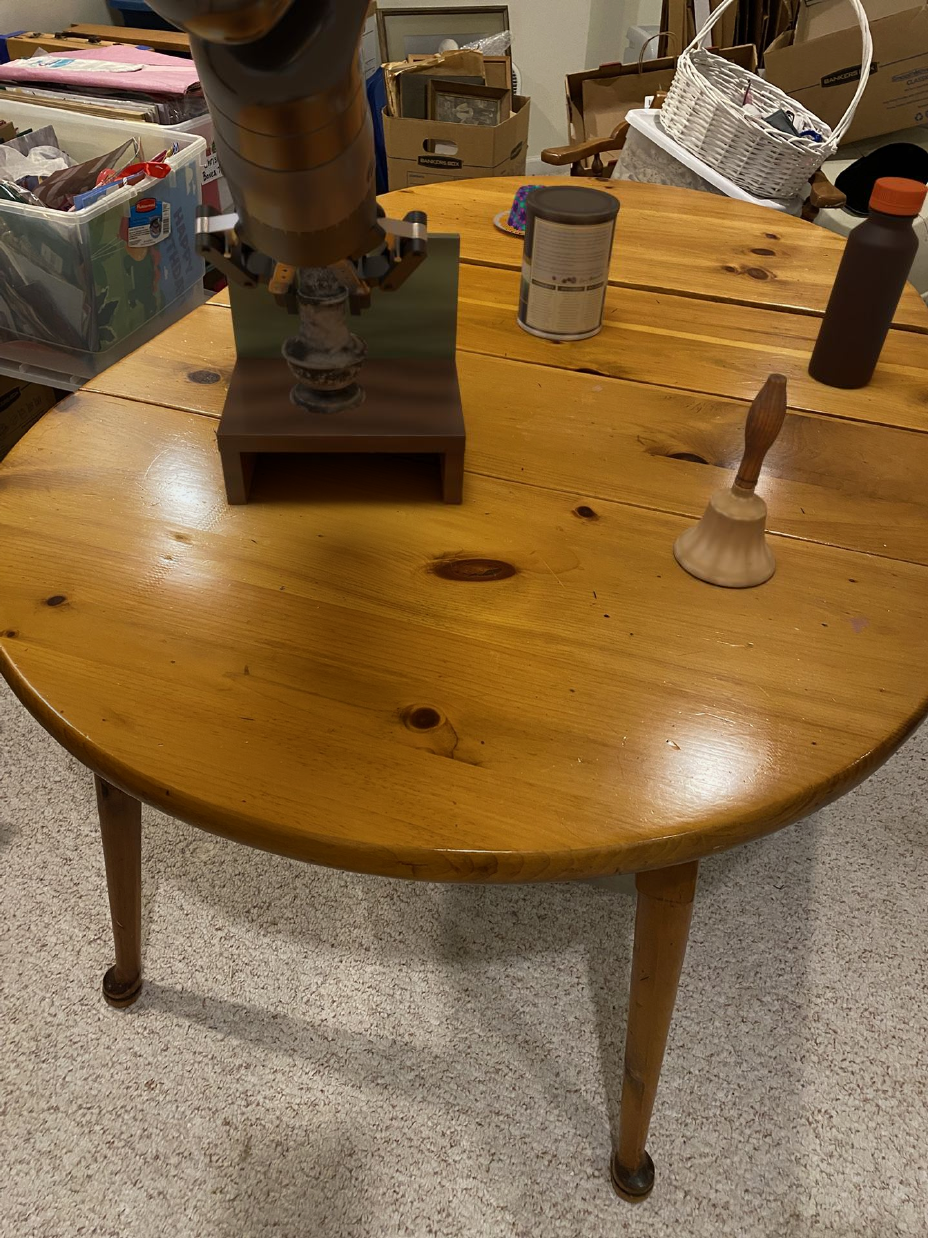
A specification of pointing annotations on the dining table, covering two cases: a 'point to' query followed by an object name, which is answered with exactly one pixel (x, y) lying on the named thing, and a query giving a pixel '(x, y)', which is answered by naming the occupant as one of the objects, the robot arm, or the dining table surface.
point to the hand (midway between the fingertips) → (324, 300)
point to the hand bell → (739, 507)
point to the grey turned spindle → (324, 347)
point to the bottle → (868, 285)
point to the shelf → (391, 377)
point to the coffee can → (566, 261)
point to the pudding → (517, 209)
